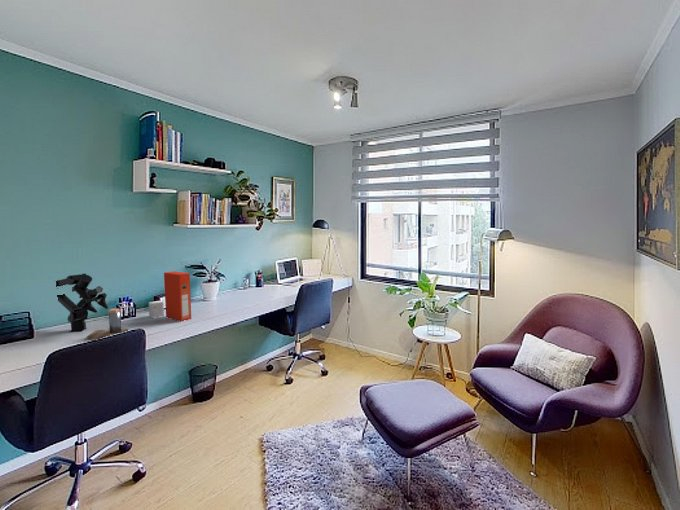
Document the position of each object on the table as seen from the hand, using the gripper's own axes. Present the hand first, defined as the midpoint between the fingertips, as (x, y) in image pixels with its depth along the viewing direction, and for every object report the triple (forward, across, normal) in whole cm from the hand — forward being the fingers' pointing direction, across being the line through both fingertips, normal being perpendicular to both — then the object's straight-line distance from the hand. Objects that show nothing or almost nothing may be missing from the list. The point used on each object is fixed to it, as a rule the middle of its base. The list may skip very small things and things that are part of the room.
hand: (102, 310), depth 218 cm
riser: (+15, -6, +4) cm, 17 cm away
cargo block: (+7, -5, -8) cm, 12 cm away
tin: (+16, -5, 0) cm, 17 cm away
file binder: (+31, +33, -12) cm, 47 cm away
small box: (+18, +36, +1) cm, 41 cm away
